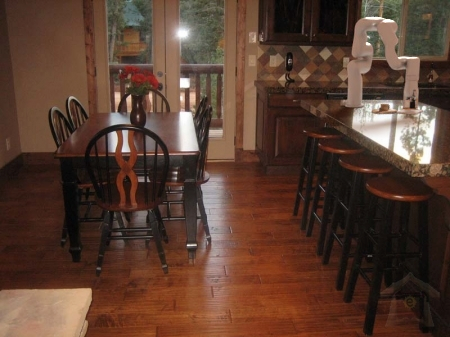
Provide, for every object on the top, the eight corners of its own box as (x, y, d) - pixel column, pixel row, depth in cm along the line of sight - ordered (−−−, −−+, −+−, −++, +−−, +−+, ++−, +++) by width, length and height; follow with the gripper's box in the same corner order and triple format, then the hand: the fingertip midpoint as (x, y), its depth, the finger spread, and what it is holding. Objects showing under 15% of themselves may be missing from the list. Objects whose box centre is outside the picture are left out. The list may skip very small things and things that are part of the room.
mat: (396, 113, 287) (396, 111, 287) (403, 110, 296) (403, 108, 296) (416, 114, 280) (416, 112, 279) (423, 111, 288) (423, 110, 288)
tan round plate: (367, 112, 293) (368, 104, 292) (377, 109, 304) (377, 101, 303) (391, 114, 284) (391, 106, 282) (400, 111, 294) (400, 103, 293)
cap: (403, 106, 290) (404, 99, 289) (413, 105, 290) (413, 98, 288) (407, 107, 284) (407, 100, 283) (417, 107, 284) (417, 99, 283)
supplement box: (415, 107, 305) (416, 87, 301) (417, 108, 300) (419, 88, 297) (402, 108, 306) (403, 88, 302) (404, 109, 301) (405, 88, 298)
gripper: (400, 77, 291) (399, 105, 295) (411, 79, 274) (409, 109, 279) (412, 76, 290) (411, 105, 295) (424, 78, 274) (421, 109, 279)
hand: (410, 107), depth 287 cm, fingers closed on cap, 6 cm apart
